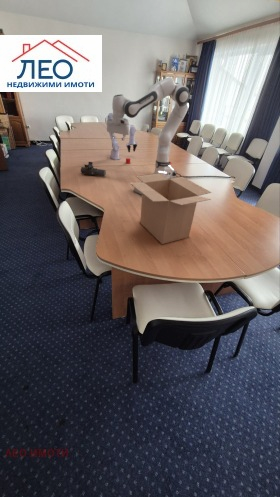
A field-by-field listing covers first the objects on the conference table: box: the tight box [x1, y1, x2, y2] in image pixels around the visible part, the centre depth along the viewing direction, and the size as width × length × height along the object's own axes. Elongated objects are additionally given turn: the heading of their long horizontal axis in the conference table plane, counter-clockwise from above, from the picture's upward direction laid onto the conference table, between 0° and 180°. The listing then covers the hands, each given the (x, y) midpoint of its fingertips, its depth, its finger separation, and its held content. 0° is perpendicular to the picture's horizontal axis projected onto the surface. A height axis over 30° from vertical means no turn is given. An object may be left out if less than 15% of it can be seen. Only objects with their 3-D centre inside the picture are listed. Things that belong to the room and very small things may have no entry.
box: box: [128, 173, 212, 245], centre depth 124 cm, size 44×36×27 cm
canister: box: [125, 157, 131, 165], centre depth 237 cm, size 5×5×5 cm
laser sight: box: [80, 161, 107, 177], centre depth 198 cm, size 10×22×10 cm, turn 78°
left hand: (131, 151), depth 253 cm, fingers open, 7 cm apart
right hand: (118, 139), depth 179 cm, fingers open, 8 cm apart
